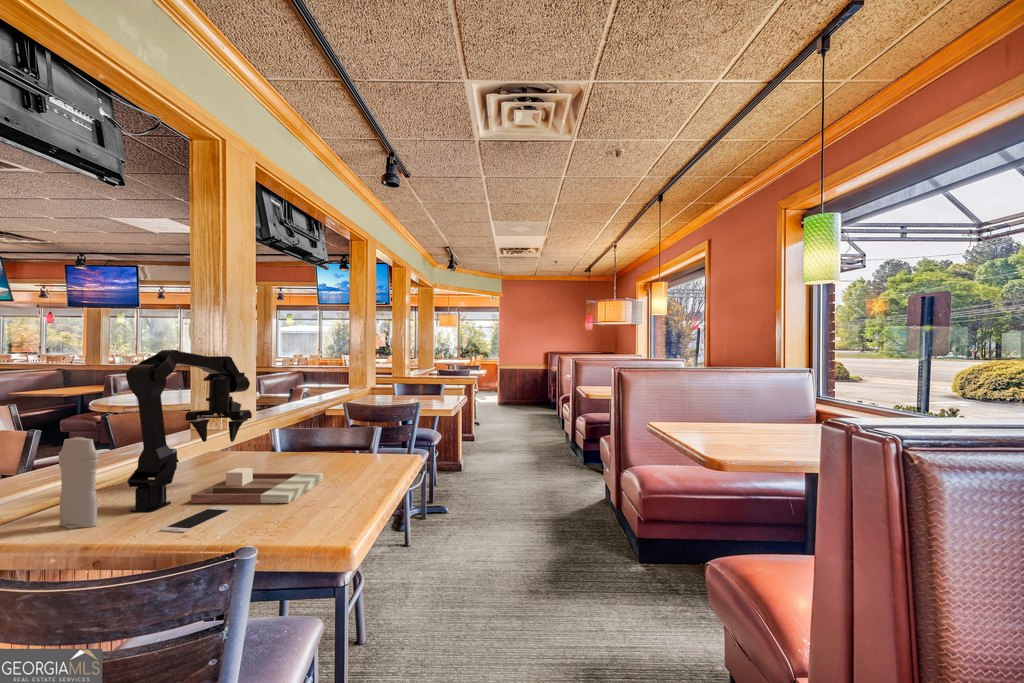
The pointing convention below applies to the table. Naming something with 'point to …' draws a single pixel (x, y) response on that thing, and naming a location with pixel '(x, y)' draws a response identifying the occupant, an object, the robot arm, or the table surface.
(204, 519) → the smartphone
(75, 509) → the tall pale column
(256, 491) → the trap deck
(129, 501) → the table surface
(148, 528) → the table surface
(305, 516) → the table surface
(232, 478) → the block
